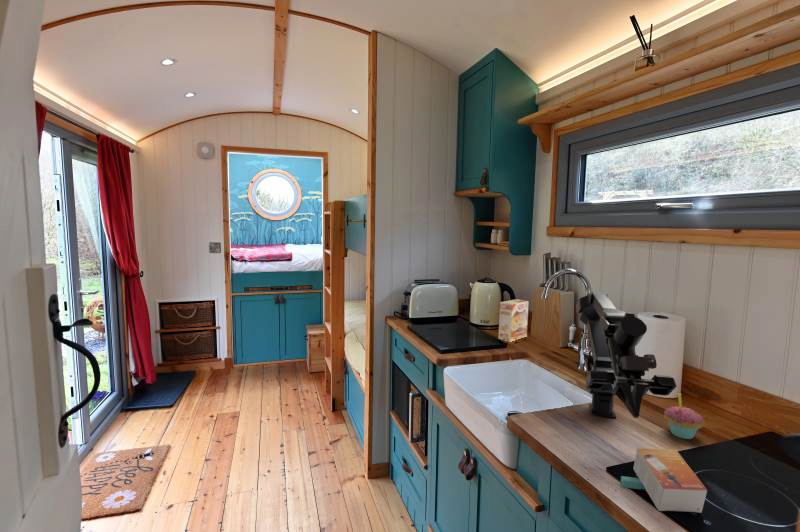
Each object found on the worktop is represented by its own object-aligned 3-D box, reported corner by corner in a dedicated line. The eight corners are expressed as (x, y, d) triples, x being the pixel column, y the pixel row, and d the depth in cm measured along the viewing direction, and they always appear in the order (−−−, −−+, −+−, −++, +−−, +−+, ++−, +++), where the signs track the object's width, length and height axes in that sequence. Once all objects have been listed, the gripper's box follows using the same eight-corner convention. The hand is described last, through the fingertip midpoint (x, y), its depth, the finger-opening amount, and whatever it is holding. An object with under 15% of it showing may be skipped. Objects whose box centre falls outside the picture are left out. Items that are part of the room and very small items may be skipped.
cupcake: (684, 444, 101) (688, 398, 100) (654, 428, 109) (657, 385, 108) (710, 440, 104) (714, 395, 103) (679, 425, 112) (682, 382, 111)
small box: (675, 448, 84) (709, 490, 74) (671, 470, 86) (703, 513, 76) (635, 447, 85) (663, 488, 75) (632, 468, 87) (658, 511, 76)
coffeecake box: (510, 345, 187) (512, 304, 186) (497, 342, 193) (499, 301, 191) (527, 340, 197) (529, 300, 196) (514, 337, 203) (516, 298, 201)
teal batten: (620, 482, 85) (621, 476, 85) (684, 490, 83) (684, 484, 83) (623, 487, 84) (623, 480, 84) (687, 495, 81) (688, 488, 81)
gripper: (591, 337, 99) (601, 399, 89) (676, 343, 95) (696, 408, 86) (581, 359, 108) (590, 417, 98) (659, 364, 104) (676, 426, 94)
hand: (636, 417), depth 94 cm, fingers closed
